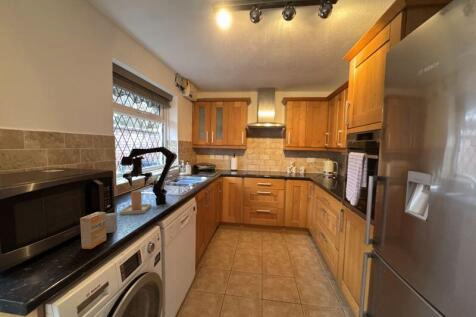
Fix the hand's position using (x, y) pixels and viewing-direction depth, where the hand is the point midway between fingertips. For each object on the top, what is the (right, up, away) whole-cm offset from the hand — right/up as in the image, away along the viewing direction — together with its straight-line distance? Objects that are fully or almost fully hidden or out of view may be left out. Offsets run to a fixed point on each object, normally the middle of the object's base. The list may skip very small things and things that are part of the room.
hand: (138, 186), depth 145 cm
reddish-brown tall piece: (+6, -13, -14) cm, 20 cm away
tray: (+6, -14, -14) cm, 20 cm away
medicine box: (+8, -16, -47) cm, 50 cm away
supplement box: (+11, -17, -59) cm, 62 cm away
